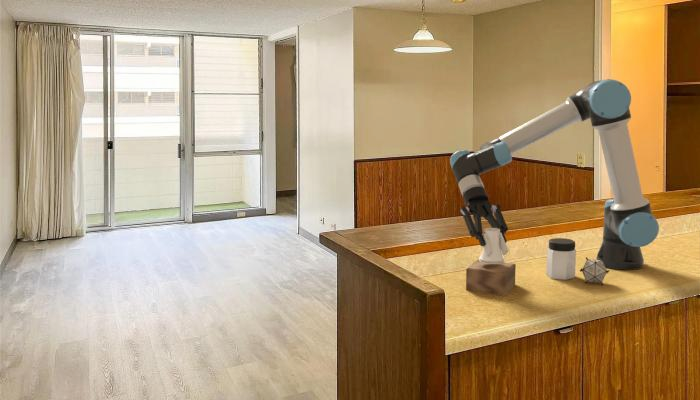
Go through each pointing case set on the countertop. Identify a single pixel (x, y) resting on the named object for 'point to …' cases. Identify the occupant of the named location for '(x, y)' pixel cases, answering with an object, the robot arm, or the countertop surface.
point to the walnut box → (490, 277)
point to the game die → (594, 270)
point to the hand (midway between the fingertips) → (497, 253)
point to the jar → (561, 259)
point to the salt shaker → (492, 247)
